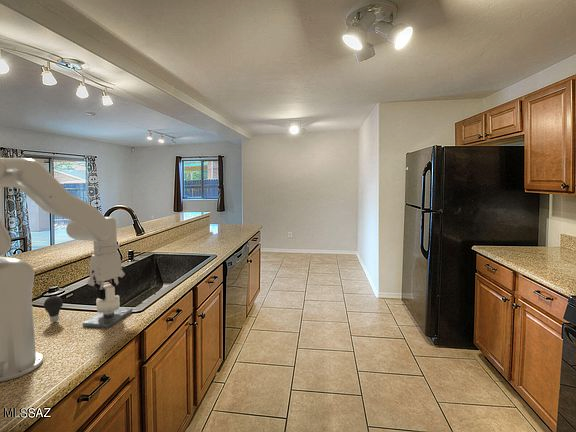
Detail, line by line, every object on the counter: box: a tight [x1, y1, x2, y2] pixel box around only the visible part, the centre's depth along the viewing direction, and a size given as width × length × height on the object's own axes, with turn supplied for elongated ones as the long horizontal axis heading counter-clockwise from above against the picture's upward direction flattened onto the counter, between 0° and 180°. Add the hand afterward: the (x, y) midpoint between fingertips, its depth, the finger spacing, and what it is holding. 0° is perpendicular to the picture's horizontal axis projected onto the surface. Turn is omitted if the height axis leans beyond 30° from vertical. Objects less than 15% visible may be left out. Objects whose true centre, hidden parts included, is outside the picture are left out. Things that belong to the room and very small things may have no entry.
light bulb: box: [43, 295, 64, 323], centre depth 112 cm, size 6×6×10 cm
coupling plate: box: [82, 307, 133, 329], centre depth 116 cm, size 14×10×4 cm
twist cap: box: [95, 281, 121, 313], centre depth 115 cm, size 8×8×9 cm
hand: (107, 296), depth 115 cm, fingers open, 4 cm apart
